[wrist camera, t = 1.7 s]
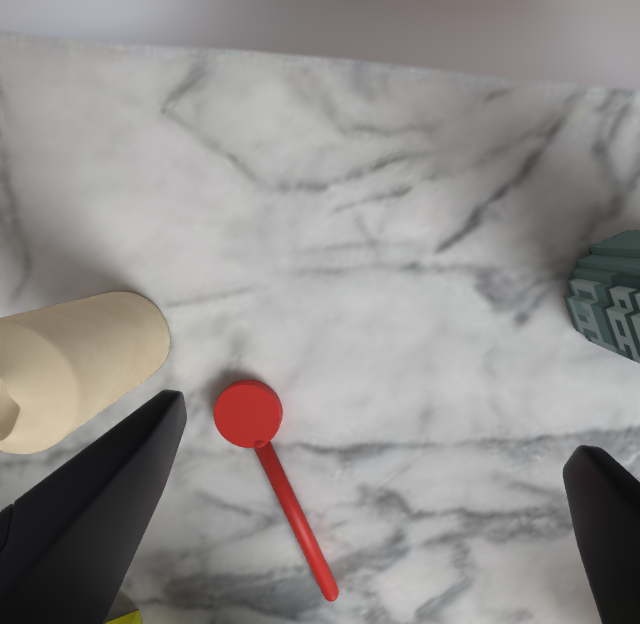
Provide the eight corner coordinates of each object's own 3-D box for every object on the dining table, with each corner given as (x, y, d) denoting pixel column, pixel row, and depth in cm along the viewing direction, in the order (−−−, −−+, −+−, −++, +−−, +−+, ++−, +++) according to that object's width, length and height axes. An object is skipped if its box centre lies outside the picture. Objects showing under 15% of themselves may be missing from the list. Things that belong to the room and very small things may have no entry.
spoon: (362, 582, 26) (363, 596, 25) (306, 599, 27) (304, 613, 26) (266, 370, 24) (262, 375, 23) (206, 392, 24) (200, 399, 23)
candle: (132, 271, 23) (-26, 298, 13) (190, 347, 24) (80, 426, 14) (64, 324, 24) (-130, 385, 14) (122, 396, 25) (-26, 501, 15)
